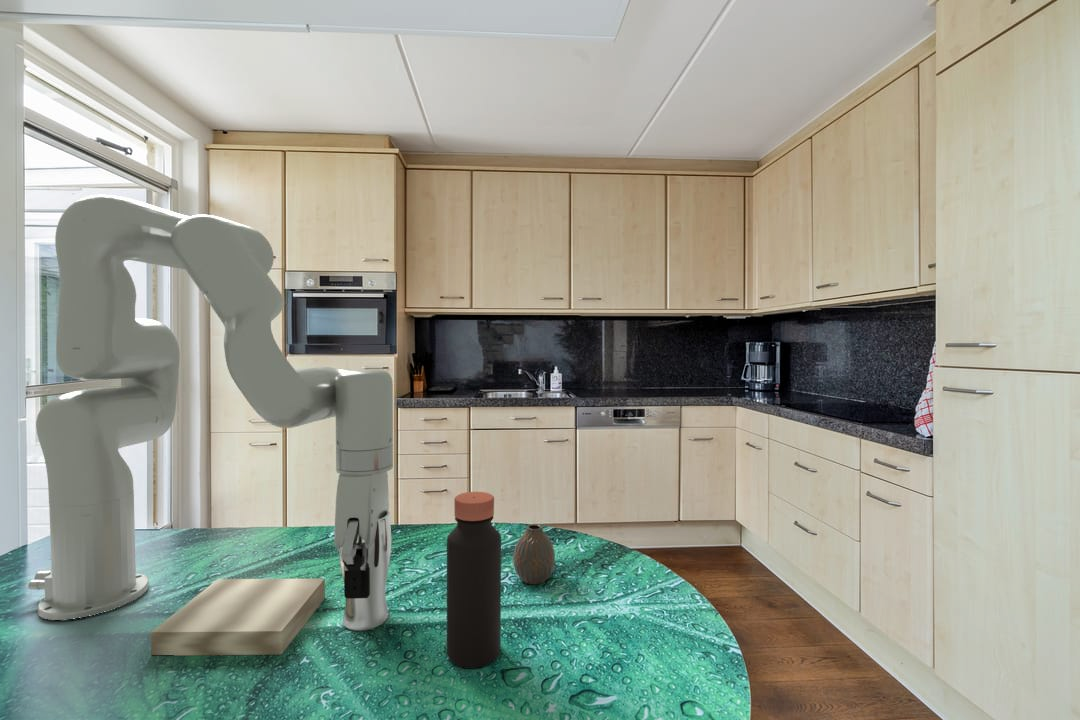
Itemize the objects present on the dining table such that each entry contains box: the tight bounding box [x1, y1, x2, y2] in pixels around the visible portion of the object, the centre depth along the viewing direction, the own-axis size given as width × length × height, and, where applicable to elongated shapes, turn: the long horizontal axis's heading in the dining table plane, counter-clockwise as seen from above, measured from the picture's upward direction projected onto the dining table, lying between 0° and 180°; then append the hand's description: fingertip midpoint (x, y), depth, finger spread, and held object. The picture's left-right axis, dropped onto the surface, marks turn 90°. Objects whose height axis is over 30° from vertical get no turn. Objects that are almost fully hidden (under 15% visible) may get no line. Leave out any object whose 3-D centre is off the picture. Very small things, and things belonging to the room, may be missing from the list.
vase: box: [512, 523, 556, 585], centre depth 85 cm, size 7×7×9 cm
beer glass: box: [338, 509, 392, 632], centre depth 72 cm, size 7×7×15 cm
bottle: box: [446, 491, 502, 669], centre depth 65 cm, size 7×7×20 cm
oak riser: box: [150, 578, 326, 656], centre depth 71 cm, size 16×14×3 cm
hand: (365, 583), depth 73 cm, fingers closed on beer glass, 6 cm apart
